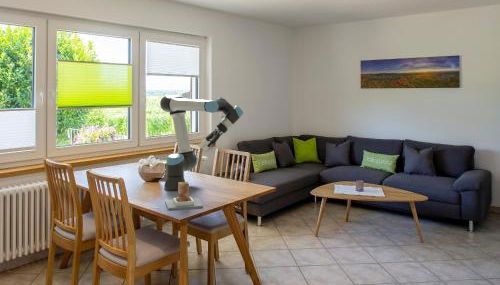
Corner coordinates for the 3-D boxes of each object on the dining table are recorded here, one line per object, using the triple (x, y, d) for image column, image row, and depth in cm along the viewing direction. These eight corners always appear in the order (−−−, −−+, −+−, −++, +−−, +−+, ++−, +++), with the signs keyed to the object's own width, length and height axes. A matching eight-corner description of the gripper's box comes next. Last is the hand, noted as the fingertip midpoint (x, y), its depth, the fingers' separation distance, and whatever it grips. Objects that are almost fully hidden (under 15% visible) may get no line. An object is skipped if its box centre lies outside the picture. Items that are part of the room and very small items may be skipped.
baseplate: (168, 210, 228) (168, 204, 228) (164, 201, 245) (164, 196, 245) (203, 207, 234) (203, 202, 234) (197, 199, 251) (197, 194, 251)
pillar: (179, 204, 236) (179, 184, 234) (178, 201, 241) (178, 182, 240) (188, 203, 238) (188, 183, 236) (187, 201, 243) (187, 181, 241)
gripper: (233, 131, 256) (209, 155, 254) (223, 127, 280) (202, 149, 277) (225, 123, 254) (201, 147, 251) (216, 120, 278) (194, 142, 275)
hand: (201, 148), depth 264 cm, fingers open, 13 cm apart
